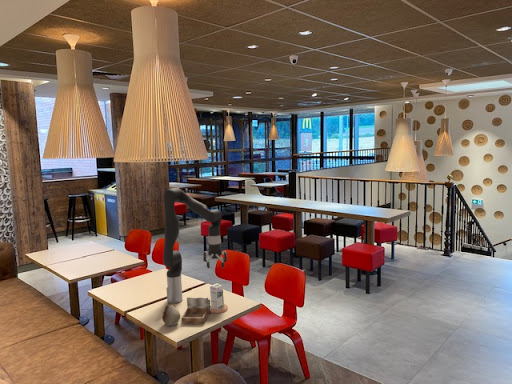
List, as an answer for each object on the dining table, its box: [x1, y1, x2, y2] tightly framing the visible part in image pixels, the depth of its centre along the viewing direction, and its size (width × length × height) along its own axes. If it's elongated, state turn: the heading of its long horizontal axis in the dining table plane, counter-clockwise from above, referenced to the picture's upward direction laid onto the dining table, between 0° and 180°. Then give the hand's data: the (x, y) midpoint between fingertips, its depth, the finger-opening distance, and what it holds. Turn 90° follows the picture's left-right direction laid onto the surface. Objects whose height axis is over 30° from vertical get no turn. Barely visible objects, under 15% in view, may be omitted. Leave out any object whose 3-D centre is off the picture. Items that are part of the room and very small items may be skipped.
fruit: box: [161, 302, 181, 327], centre depth 218 cm, size 10×9×12 cm
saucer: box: [210, 303, 229, 314], centre depth 237 cm, size 12×12×1 cm
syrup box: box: [209, 282, 225, 310], centre depth 236 cm, size 6×6×14 cm
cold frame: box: [180, 296, 212, 325], centre depth 225 cm, size 14×14×10 cm
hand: (215, 268), depth 234 cm, fingers open, 8 cm apart
